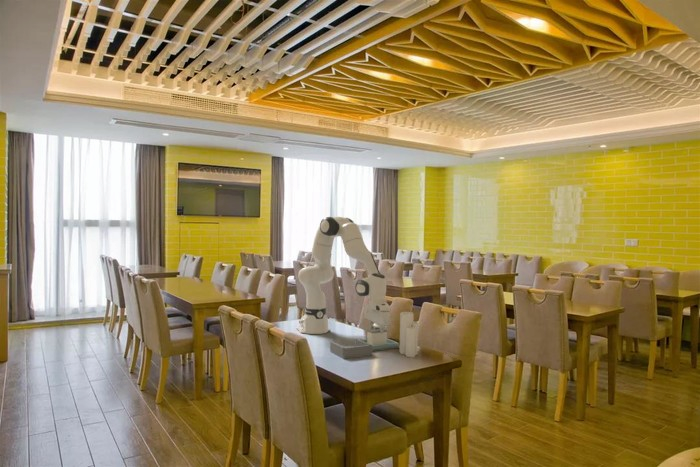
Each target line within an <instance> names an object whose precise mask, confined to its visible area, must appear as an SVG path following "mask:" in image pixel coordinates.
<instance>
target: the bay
mask: <svg viewBox="0 0 700 467" xmlns="http://www.w3.org/2000/svg"><path fill="white" fill-rule="evenodd" d="M354 340H355V341H354V344H355V345H354V346H347V347H345V346H342V345H340V344H338V343H336V342H334V341H330V342H329V344H330V346H329V352H330V353H332V354H334V355H336V356H337V357H339V358H341V359H343V360H347V359H354V358H363V357H370V356H373V351H372V345H370V344H368V343H366V342H364V341H361V340H362V339H359V338H355V339H354Z"/></svg>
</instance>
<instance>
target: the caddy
mask: <svg viewBox="0 0 700 467" xmlns="http://www.w3.org/2000/svg"><path fill="white" fill-rule="evenodd" d="M379 330H380V328H378V329H370V328H369V329H367V330H366V331H367V332H366V338H367V343H368V344H370V345H372V346H374V345H383V344H387V339H388V337H387V330H386V329H384V331H383V334H381V333H379Z"/></svg>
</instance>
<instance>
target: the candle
mask: <svg viewBox="0 0 700 467" xmlns="http://www.w3.org/2000/svg"><path fill="white" fill-rule="evenodd" d="M418 331H419V323H418V322H414V312H412V311H401V312H400V313H399V348H398V349H399V351H398V352H399V353H400V354H401V355H405V357H408V358H415V357H416V355H418V341H419V340H418V338H419V337H418V336H419V335H418V333H419V332H418Z"/></svg>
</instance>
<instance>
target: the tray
mask: <svg viewBox="0 0 700 467" xmlns="http://www.w3.org/2000/svg"><path fill="white" fill-rule="evenodd" d="M360 340H361V341H364V342H366V343H367V339H360ZM393 349H400V342H397V341H395V340H393V339H390V338H387V344H383V345H374V346H372V352H377V351H384V350H393Z"/></svg>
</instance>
